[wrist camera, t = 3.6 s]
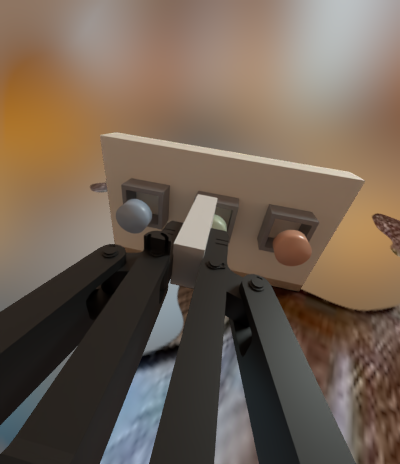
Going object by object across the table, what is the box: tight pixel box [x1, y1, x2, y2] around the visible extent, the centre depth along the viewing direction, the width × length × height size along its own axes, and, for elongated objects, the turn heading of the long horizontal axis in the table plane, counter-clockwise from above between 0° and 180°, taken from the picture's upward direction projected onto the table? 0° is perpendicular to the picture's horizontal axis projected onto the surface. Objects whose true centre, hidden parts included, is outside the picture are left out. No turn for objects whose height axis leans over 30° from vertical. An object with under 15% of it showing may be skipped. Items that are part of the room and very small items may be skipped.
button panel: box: [100, 132, 365, 292], centre depth 32 cm, size 11×34×20 cm, turn 80°
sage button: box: [212, 214, 227, 232], centre depth 25 cm, size 2×4×4 cm, turn 80°
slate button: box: [116, 199, 152, 234], centre depth 25 cm, size 2×4×4 cm, turn 80°
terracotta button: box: [273, 230, 312, 266], centre depth 24 cm, size 2×4×4 cm, turn 80°
